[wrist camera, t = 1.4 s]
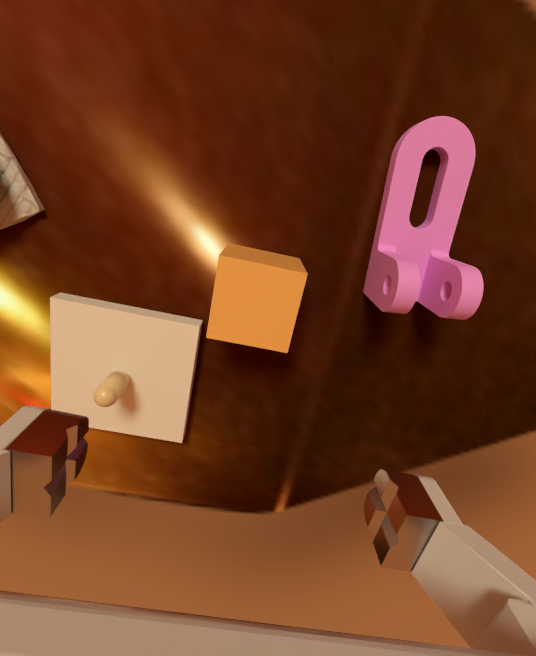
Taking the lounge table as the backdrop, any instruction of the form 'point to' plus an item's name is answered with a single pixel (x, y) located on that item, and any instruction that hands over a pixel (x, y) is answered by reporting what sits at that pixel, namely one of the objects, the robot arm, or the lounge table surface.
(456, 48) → the lounge table surface
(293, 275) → the solid orange cube
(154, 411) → the pin plate
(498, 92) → the lounge table surface
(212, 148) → the lounge table surface
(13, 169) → the packaged product
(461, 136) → the bracket
